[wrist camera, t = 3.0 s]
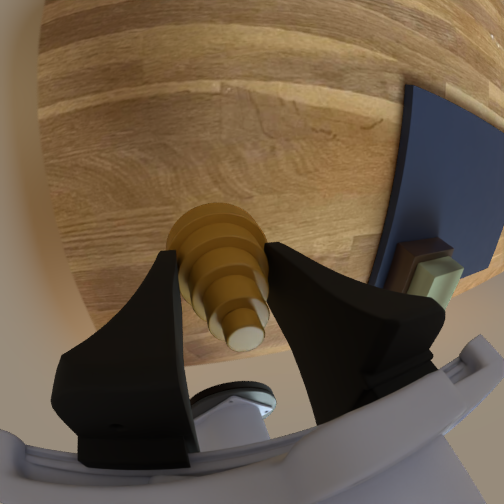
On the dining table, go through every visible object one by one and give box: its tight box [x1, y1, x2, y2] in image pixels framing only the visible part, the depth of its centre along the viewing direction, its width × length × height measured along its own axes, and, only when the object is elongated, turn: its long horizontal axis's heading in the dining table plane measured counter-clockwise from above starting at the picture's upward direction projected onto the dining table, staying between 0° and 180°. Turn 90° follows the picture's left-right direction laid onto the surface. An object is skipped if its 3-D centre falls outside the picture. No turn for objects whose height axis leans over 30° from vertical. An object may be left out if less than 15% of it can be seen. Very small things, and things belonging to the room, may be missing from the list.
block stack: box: [383, 237, 464, 310], centre depth 24 cm, size 7×7×5 cm
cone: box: [166, 203, 270, 352], centre depth 10 cm, size 4×4×6 cm
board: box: [368, 84, 504, 289], centre depth 25 cm, size 30×22×1 cm
